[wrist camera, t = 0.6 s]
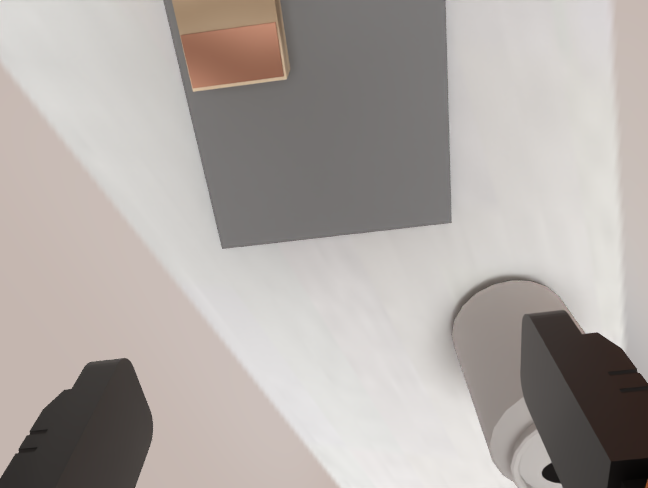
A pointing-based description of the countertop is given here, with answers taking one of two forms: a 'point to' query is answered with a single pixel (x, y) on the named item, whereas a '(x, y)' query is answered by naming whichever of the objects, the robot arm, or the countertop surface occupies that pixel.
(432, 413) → the countertop surface
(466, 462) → the countertop surface
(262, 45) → the beige rectangular block
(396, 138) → the mat
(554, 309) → the can
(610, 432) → the robot arm
